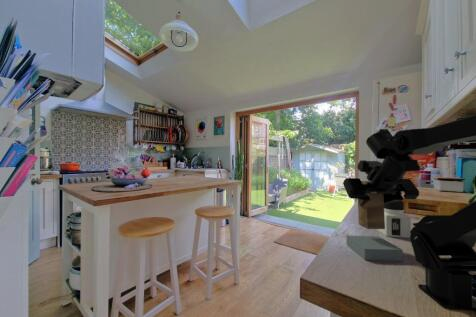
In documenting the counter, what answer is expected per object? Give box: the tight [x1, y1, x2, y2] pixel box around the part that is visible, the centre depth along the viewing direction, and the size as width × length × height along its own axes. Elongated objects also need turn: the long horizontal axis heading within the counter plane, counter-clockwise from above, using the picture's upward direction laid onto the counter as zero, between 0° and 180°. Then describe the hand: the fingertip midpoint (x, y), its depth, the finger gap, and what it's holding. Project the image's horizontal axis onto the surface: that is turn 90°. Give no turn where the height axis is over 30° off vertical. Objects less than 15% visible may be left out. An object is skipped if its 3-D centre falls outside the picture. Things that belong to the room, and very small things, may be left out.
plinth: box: [346, 235, 404, 262], centre depth 61 cm, size 10×10×3 cm
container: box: [376, 200, 412, 239], centre depth 77 cm, size 8×8×13 cm
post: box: [357, 180, 385, 230], centre depth 64 cm, size 5×5×14 cm
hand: (368, 204), depth 65 cm, fingers closed on post, 5 cm apart
